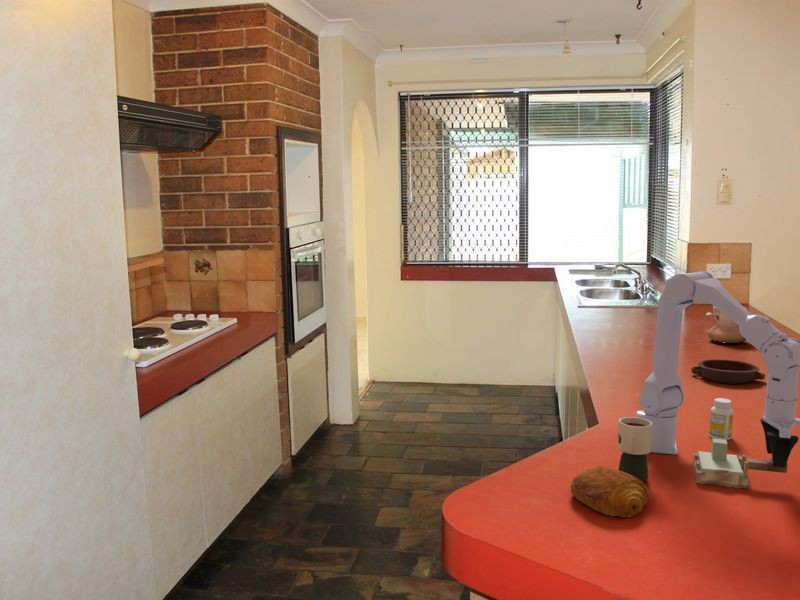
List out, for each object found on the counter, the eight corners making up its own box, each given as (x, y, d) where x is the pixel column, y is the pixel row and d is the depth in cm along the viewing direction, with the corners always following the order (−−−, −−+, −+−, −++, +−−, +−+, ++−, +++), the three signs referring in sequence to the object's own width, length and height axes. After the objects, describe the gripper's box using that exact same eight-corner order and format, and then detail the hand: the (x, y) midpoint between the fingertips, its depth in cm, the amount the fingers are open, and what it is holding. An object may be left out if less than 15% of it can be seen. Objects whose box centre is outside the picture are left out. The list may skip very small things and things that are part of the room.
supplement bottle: (715, 441, 188) (717, 403, 187) (704, 433, 194) (707, 397, 192) (736, 440, 189) (738, 403, 187) (724, 433, 194) (727, 396, 193)
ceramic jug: (702, 343, 300) (705, 308, 297) (705, 336, 312) (708, 302, 310) (752, 348, 292) (756, 312, 289) (753, 341, 305) (756, 306, 302)
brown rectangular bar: (747, 469, 160) (747, 460, 160) (745, 465, 162) (746, 456, 162) (786, 473, 158) (787, 463, 158) (784, 469, 160) (785, 460, 160)
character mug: (622, 468, 171) (624, 412, 169) (654, 474, 167) (657, 417, 165) (609, 485, 161) (612, 426, 159) (644, 491, 158) (647, 431, 156)
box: (696, 483, 162) (697, 459, 161) (692, 463, 173) (693, 440, 172) (747, 489, 159) (749, 464, 158) (739, 468, 170) (741, 445, 169)
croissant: (604, 535, 144) (609, 498, 141) (557, 493, 157) (561, 459, 155) (664, 520, 149) (670, 484, 147) (614, 481, 163) (618, 447, 160)
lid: (701, 471, 162) (703, 450, 161) (697, 454, 172) (699, 434, 171) (742, 476, 160) (744, 454, 159) (736, 458, 170) (737, 437, 169)
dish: (766, 390, 234) (767, 374, 234) (689, 383, 243) (690, 367, 242) (763, 376, 250) (764, 361, 250) (691, 370, 259) (692, 356, 258)
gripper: (810, 409, 149) (804, 474, 151) (795, 389, 163) (790, 450, 165) (771, 406, 151) (765, 470, 153) (759, 386, 165) (754, 446, 167)
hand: (775, 459), depth 159 cm, fingers open, 7 cm apart
